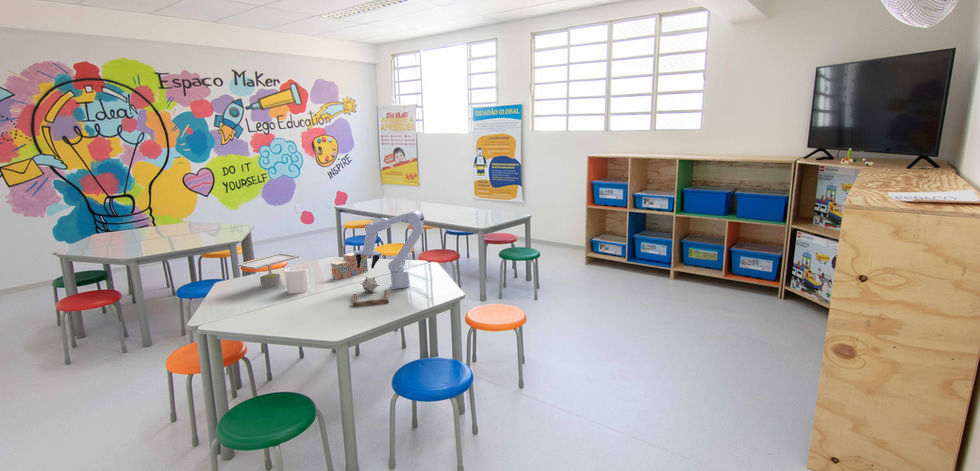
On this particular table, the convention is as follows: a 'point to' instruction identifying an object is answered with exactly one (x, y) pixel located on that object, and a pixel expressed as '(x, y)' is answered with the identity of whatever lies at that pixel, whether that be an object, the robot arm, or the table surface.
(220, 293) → the table surface
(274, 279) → the solar panel model
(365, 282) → the game die
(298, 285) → the cup
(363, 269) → the stack of blocks
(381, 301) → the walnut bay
